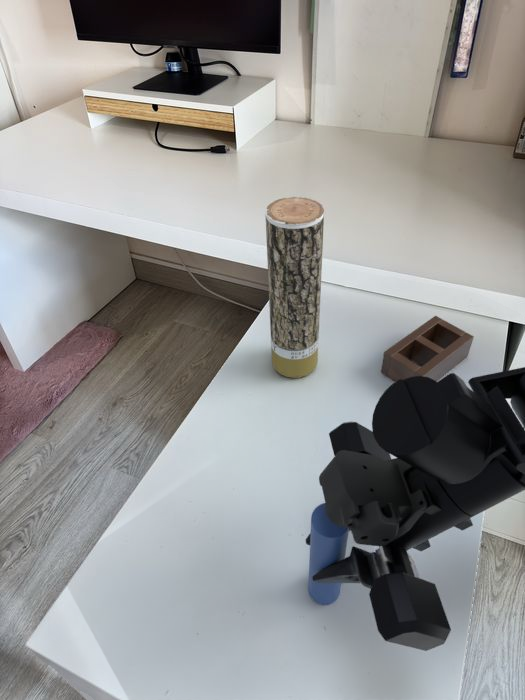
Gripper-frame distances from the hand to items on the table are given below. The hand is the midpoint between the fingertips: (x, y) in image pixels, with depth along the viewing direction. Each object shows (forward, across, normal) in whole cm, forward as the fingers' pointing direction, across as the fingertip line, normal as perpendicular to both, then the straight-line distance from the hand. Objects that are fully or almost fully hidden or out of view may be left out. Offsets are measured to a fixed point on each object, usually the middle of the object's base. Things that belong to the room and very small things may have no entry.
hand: (311, 561), depth 47 cm
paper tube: (+2, -33, +7) cm, 34 cm away
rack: (-11, -30, +20) cm, 38 cm away
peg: (+4, 0, +6) cm, 7 cm away
